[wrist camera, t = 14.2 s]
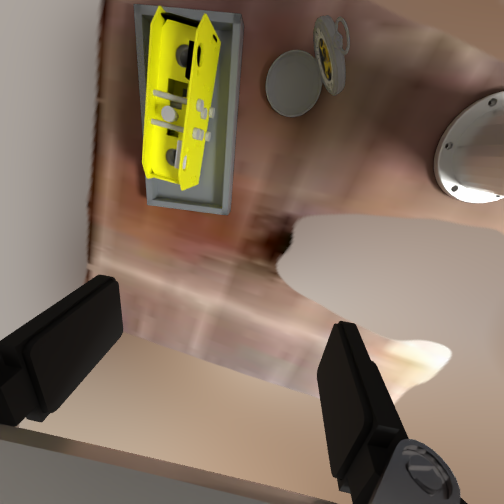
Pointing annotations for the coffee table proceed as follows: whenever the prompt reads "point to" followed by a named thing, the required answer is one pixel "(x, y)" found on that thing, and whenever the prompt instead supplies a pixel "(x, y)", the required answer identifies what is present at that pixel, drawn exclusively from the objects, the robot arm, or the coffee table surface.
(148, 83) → the yellow toy chassis
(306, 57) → the pocket watch
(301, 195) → the coffee table surface
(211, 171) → the tray
